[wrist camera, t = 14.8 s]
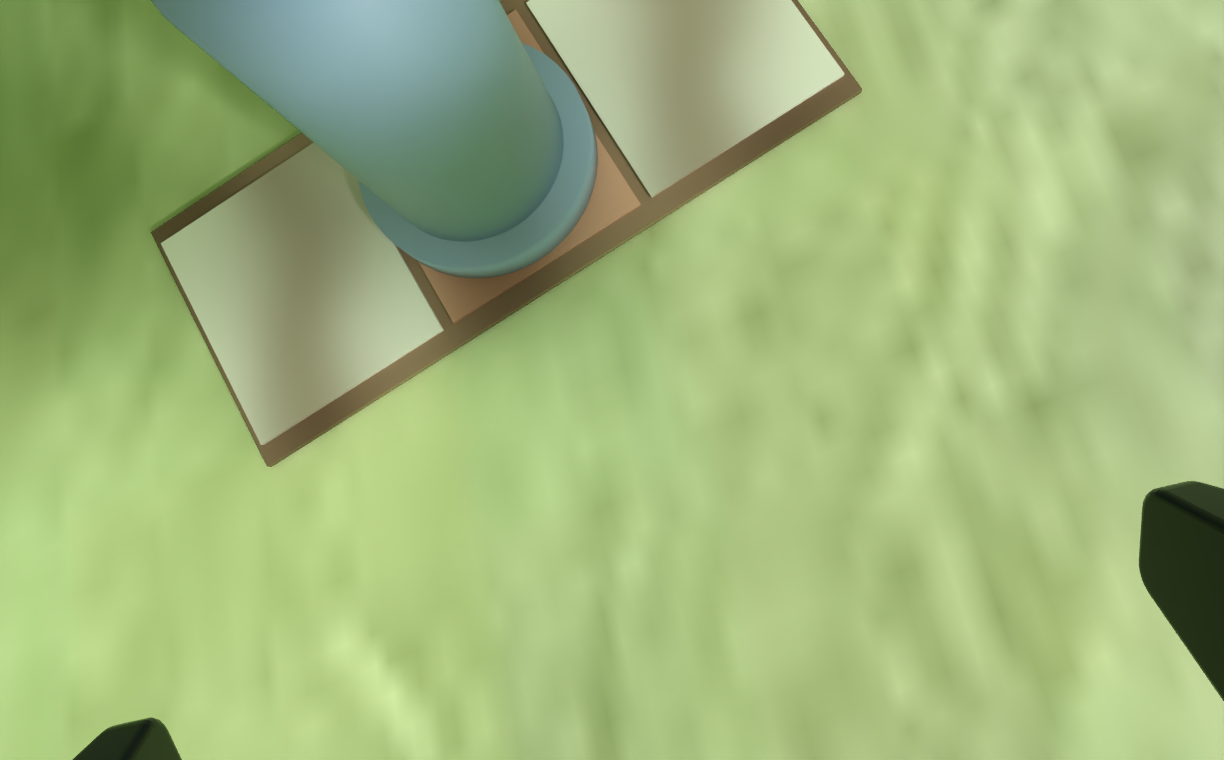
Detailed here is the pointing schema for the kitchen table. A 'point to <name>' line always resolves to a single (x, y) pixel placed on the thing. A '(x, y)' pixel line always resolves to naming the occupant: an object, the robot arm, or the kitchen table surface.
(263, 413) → the board
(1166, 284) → the kitchen table surface
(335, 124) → the pawn
